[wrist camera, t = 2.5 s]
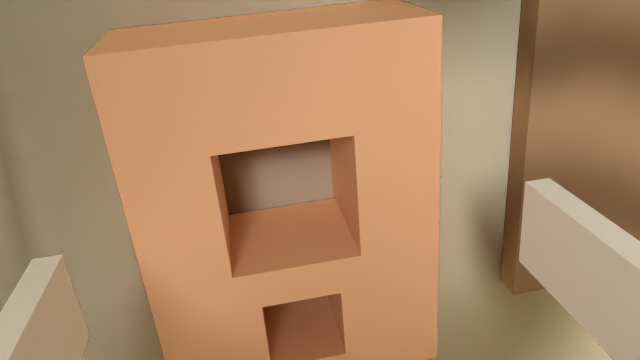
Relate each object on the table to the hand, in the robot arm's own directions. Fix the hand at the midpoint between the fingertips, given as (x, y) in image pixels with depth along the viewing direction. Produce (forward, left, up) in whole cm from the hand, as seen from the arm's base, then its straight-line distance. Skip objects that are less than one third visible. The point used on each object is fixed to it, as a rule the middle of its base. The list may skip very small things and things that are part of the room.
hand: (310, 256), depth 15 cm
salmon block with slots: (+1, 0, -7) cm, 7 cm away
